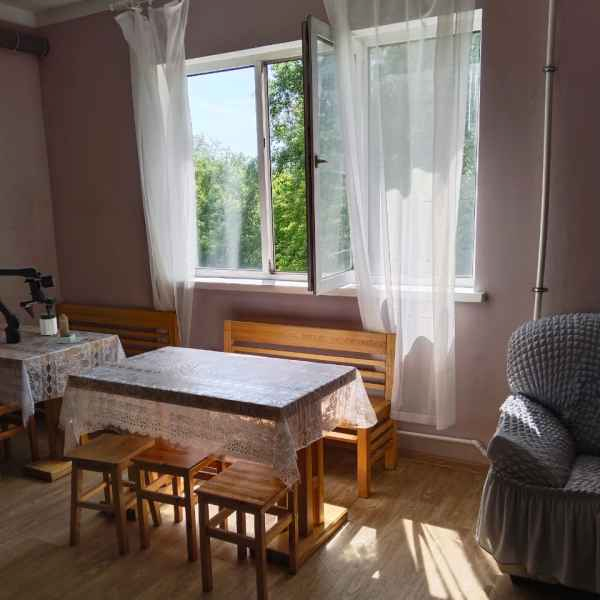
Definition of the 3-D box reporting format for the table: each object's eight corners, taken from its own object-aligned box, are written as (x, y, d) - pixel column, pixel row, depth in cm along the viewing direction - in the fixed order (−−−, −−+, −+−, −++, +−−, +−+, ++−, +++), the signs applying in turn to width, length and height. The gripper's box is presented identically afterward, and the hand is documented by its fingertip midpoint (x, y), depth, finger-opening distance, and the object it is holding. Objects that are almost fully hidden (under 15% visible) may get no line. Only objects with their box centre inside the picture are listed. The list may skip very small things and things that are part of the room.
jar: (42, 336, 349) (40, 315, 347) (39, 334, 356) (37, 313, 354) (59, 334, 354) (57, 313, 352) (56, 331, 361) (54, 311, 358)
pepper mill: (61, 341, 335) (59, 315, 332) (59, 339, 339) (57, 313, 336) (70, 340, 338) (68, 314, 335) (68, 338, 341) (66, 312, 338)
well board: (44, 344, 332) (44, 339, 331) (51, 339, 343) (51, 334, 343) (79, 343, 333) (78, 338, 332) (85, 337, 345) (84, 332, 344)
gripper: (59, 285, 342) (64, 312, 345) (27, 288, 344) (32, 315, 348) (49, 288, 331) (55, 317, 335) (16, 292, 334) (22, 320, 337)
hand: (41, 317), depth 339 cm, fingers open, 9 cm apart
